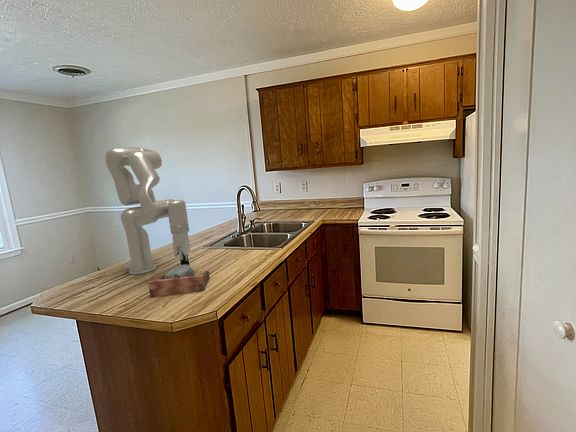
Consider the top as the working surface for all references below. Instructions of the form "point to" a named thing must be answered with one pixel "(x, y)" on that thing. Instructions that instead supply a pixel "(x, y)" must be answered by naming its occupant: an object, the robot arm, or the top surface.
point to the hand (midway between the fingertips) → (185, 269)
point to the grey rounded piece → (180, 272)
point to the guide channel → (178, 285)
